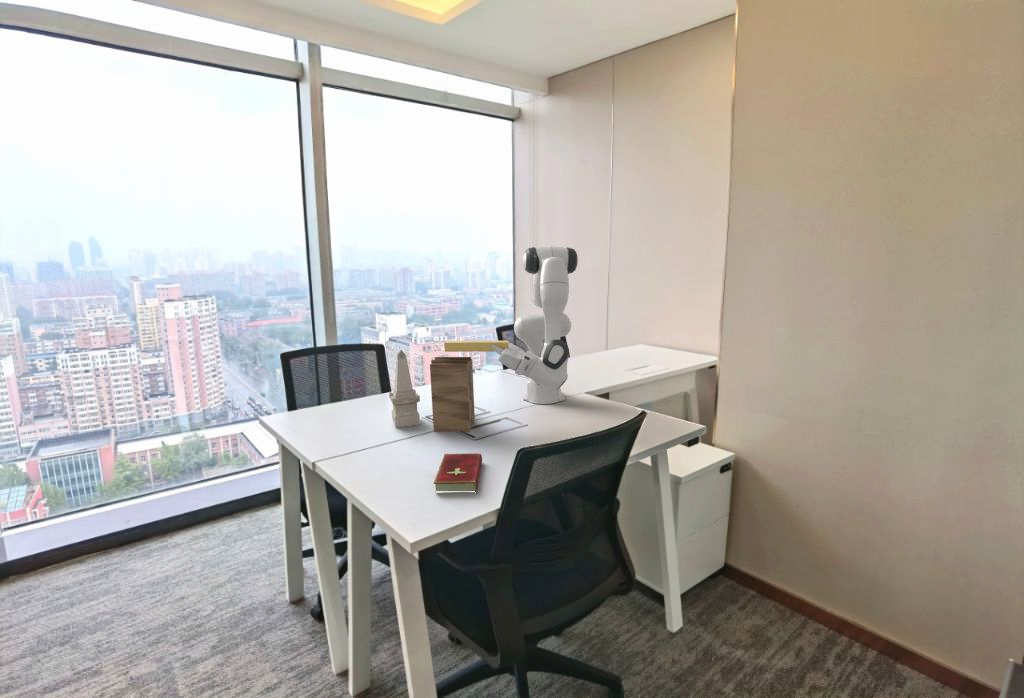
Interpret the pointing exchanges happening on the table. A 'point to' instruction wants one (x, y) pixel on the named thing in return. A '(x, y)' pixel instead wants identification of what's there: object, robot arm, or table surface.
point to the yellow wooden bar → (473, 346)
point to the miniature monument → (404, 395)
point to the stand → (452, 394)
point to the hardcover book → (459, 472)
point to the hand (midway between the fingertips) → (493, 344)
